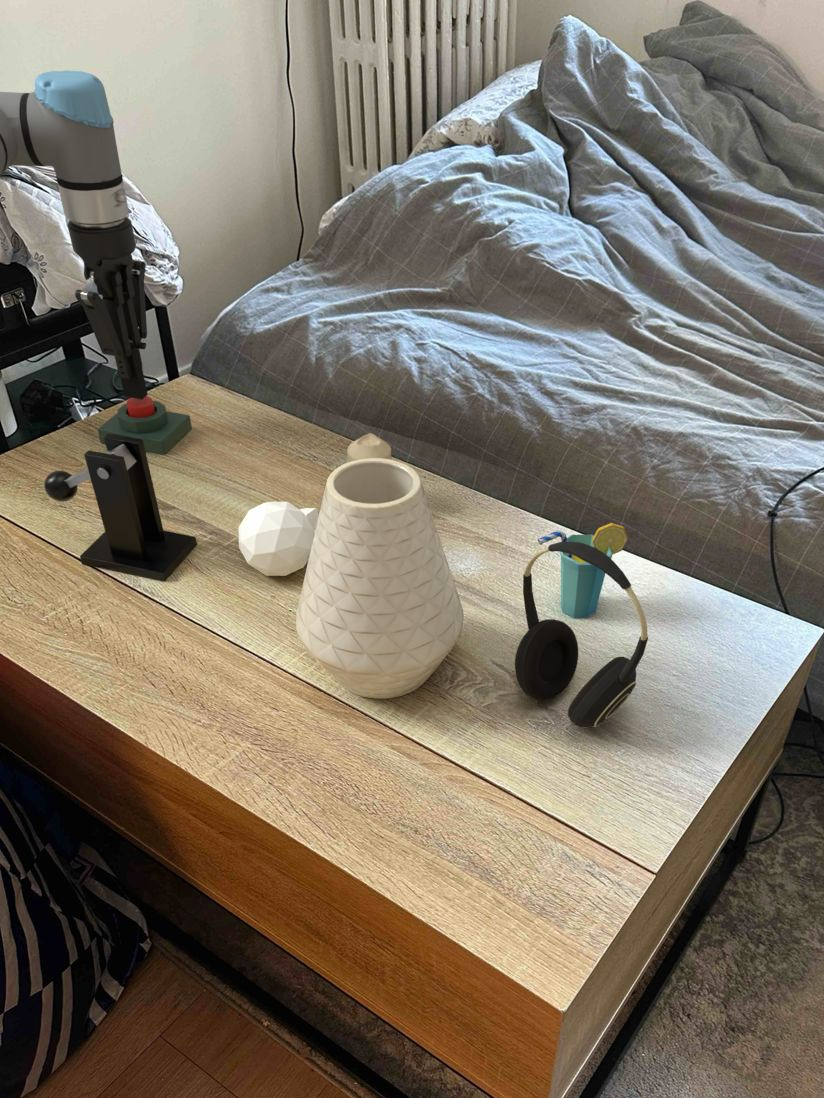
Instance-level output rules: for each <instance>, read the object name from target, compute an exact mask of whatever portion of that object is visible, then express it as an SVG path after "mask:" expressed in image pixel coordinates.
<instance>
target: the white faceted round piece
mask: <svg viewBox="0 0 824 1098" xmlns="http://www.w3.org/2000/svg"><path fill="white" fill-rule="evenodd" d="M318 517H319V512H318V508H317V507H308V508H307V507H305V508H300V509H299V508H297V507H296V506H294V505H293V504H292V503H290V502H288V501H266V502H263V503H261V504H259V505H257V506H255V507H253V508H251V509H249V510H248V512H247V513H246V515H245V516H244V518H243V519H242V521H241V522H240V524H239V525H238V527H237V530H238V531H237V532H238V548H239V550H240V552H241V553H242V556H243V558H244V559H245V561H246V562H247V564H248V565H250V566H251V567H252V568H254V569H255V570H257V571H258V572H260V573H262V574H263V575H265V576H266V577H286V576H288V575H290V574H292V573H294V572H297V571H299V570H301V569H303V568H304V567H305V566H306V565H307V564H308V561H309V556H310V552H311V548H312V543H313V539H314V535H315V530H316V526H317V522H318Z"/></svg>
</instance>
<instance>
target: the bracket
mask: <svg viewBox="0 0 824 1098" xmlns="http://www.w3.org/2000/svg"><path fill="white" fill-rule="evenodd" d="M104 440H105V444H104V445H105V449H106V452H107V451H109V450H111V449H113V448H115V447H117V446H120V445H122V444H124V445H125V446H126V447H127V449H128V450H129V451H130V453H131V454H132V455H133V457H134V458H135V459H136V461H137V462H136V463H135V464H134V465H133V466H131V467H130V468H129V469H128V470H127V468H126V463H125V459H124V457H122V456H117V455H112V454H106V452H101V451H96V450H90V449H89V450H87V451H86V452H85V453H83V457H84V460H85V463H86V467H87V468H88V471H89V475H90V478H91V479H90V482H91V484H92V488H93V489H92V490H93V492H94V496H95V499H96V503H97V507H98V511H99V515H100V518H101V521H102V526H103V529H104V531H103V533H102V534H101V535H100V536H98V538H97V539H95V541H93V543H91V544H90V545H89V547H88V548H87V549H85V550H84V551H83V552H82V553H81V554H80V555H79V559H80V562H81V565H83V566H89V567H93V568H98V569H103V570H108V571H113V572H118V573H123V574H127V575H132V576H137V577H142V578H146V579H152V580H155V581H161V582H166V581H167V580H168V579H169V578H170V576H171V575H172V574H174V572H175V571H176V570H177V568H178V567H180V565H181V564H182V563H183V562H184V560H185V559H187V557H188V556H189V555H190V554H191V552H192V551H193V550H194V549H195V548H196V547H197V545H198V542H197V537H196V536H194V535H190V534H189V535H188V534H185V533H178V532H173V531H168V530H164V527H163V522H162V518H161V514H160V510H159V509H160V508H159V505H158V501H157V496H156V492H155V487H154V483H153V478H152V474H151V469H150V465H149V460H148V455H147V452H146V451H145V447H144V443H143V440H142V439H137V438H131V437H126V436H120V435H115V434H109V433H108V434H107V435H106V436H105V437H104Z"/></svg>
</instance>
